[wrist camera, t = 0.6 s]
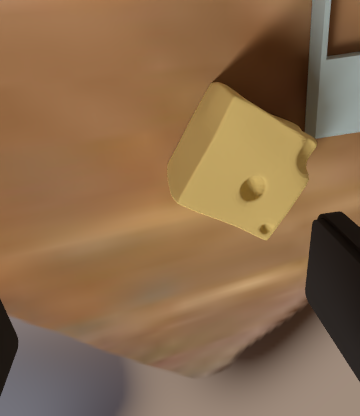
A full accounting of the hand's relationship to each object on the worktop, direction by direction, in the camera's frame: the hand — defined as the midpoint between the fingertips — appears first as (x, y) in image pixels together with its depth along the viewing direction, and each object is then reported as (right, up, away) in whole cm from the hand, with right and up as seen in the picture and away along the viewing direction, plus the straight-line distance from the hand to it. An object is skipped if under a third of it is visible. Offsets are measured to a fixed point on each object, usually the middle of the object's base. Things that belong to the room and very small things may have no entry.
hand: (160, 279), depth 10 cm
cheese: (+5, +9, +27) cm, 29 cm away
